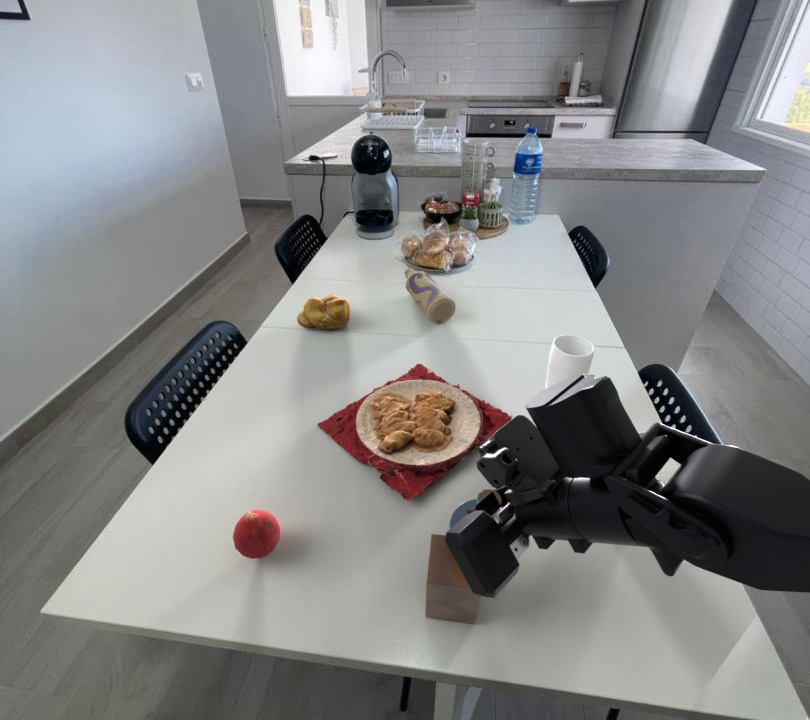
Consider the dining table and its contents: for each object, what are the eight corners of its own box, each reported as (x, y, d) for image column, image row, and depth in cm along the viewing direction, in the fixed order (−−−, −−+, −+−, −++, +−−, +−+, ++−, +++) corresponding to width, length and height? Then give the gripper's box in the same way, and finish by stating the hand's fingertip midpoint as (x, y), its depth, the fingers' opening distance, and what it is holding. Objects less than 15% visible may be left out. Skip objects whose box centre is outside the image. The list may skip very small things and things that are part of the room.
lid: (522, 509, 53) (529, 477, 50) (518, 572, 47) (526, 540, 44) (455, 495, 55) (458, 463, 51) (443, 554, 49) (445, 522, 45)
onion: (291, 536, 62) (282, 500, 57) (270, 575, 57) (258, 539, 53) (254, 526, 63) (242, 490, 59) (231, 564, 59) (216, 528, 54)
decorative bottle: (456, 321, 109) (458, 296, 105) (428, 326, 107) (428, 302, 103) (420, 277, 129) (421, 256, 125) (396, 281, 127) (395, 259, 123)
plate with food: (512, 425, 80) (515, 410, 78) (408, 506, 65) (408, 490, 63) (419, 369, 94) (419, 355, 92) (316, 425, 80) (314, 410, 78)
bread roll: (295, 334, 105) (290, 304, 100) (302, 314, 112) (297, 285, 108) (350, 333, 105) (347, 303, 100) (353, 313, 113) (351, 284, 108)
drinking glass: (579, 408, 83) (599, 341, 74) (569, 430, 78) (589, 361, 70) (543, 396, 86) (559, 330, 77) (532, 416, 81) (546, 348, 73)
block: (476, 575, 57) (482, 539, 53) (475, 624, 52) (482, 589, 48) (429, 569, 58) (431, 533, 53) (425, 617, 53) (426, 582, 48)
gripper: (601, 373, 42) (495, 405, 55) (470, 481, 32) (378, 488, 45) (659, 477, 42) (539, 484, 55) (546, 619, 32) (432, 586, 45)
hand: (477, 506), depth 50 cm, fingers closed on lid, 2 cm apart
